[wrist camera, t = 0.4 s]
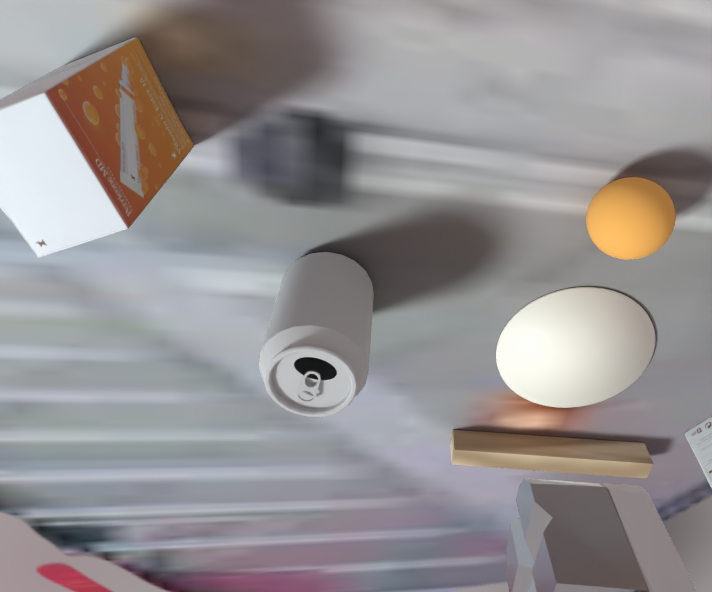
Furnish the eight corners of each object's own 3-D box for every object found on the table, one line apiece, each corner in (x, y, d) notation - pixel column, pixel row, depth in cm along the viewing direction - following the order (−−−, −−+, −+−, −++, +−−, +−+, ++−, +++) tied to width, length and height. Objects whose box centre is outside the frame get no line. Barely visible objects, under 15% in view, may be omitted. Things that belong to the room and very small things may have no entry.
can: (387, 262, 49) (382, 361, 39) (357, 332, 53) (347, 437, 43) (296, 234, 48) (268, 327, 38) (273, 307, 52) (242, 409, 43)
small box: (197, 145, 45) (131, 232, 34) (122, 171, 46) (36, 262, 36) (138, 32, 41) (43, 90, 30) (58, 64, 42) (-60, 130, 31)
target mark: (510, 281, 49) (510, 283, 49) (676, 292, 49) (676, 293, 49) (485, 400, 57) (485, 402, 57) (629, 410, 56) (630, 412, 56)
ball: (588, 162, 43) (610, 196, 39) (669, 166, 43) (701, 201, 39) (570, 232, 47) (588, 272, 42) (646, 237, 46) (672, 277, 42)
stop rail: (452, 429, 59) (454, 449, 57) (644, 443, 58) (653, 463, 56) (450, 444, 60) (452, 464, 58) (638, 457, 60) (646, 478, 58)
